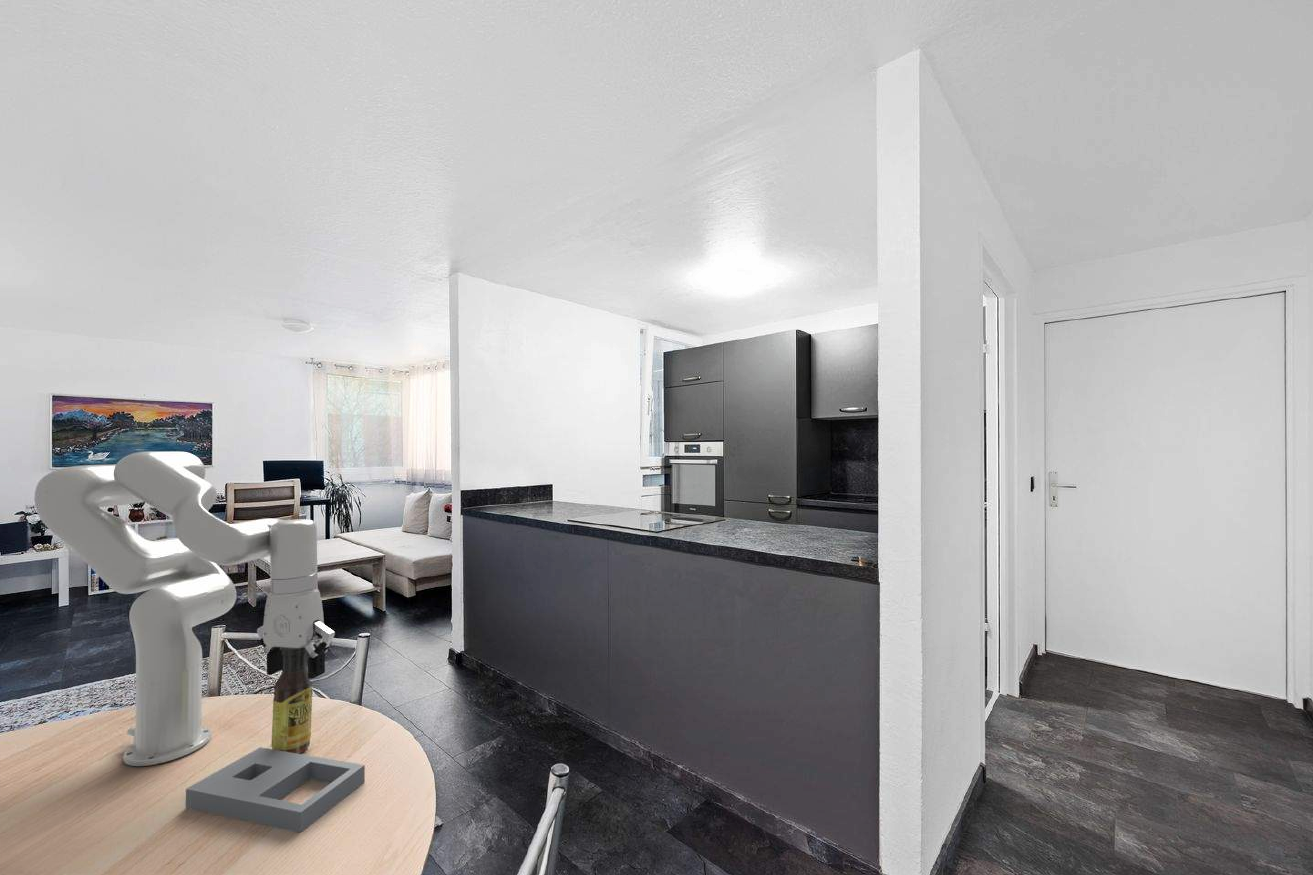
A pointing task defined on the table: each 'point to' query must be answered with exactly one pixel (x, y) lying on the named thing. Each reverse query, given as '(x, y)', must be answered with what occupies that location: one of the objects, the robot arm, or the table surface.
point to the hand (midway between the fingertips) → (295, 673)
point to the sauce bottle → (292, 704)
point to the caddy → (274, 788)
